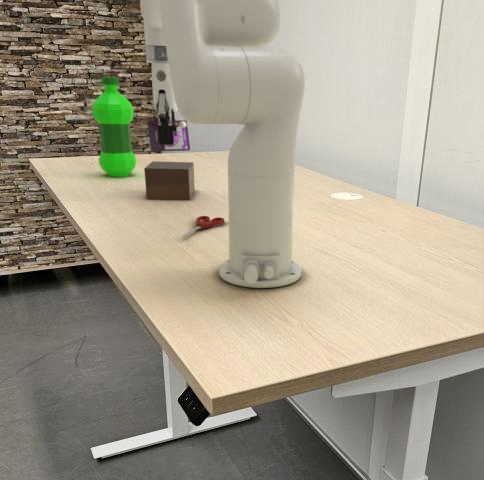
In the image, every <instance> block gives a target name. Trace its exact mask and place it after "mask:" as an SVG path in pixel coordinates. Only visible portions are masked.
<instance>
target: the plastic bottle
mask: <svg viewBox="0 0 484 480" xmlns="http://www.w3.org/2000/svg"><path fill="white" fill-rule="evenodd" d="M101 85H103V86H104V91H103V92H102V93H101V94H100V95H99V96H98V97H97V98H96V99H95V101H93V104H92V106H91V111H92V117H93V120H95V122H96V123H98V129H99V130H98V131H99V139H100V147H101V152H100V154H99V156H98V164H99V166H100V169H101V170H103V171H104V173H106V174H108V176H110V177H112V178H113V177H114V178H122V177H123V178H124V177H129V176H130V174H131V172H133V171H134V170H135V168H136V165H137V157H136V155H135V154H134V152H133V147H132V137H131V136H132V135H131V126H130V125H131V122H132V121H133V119H134V116H135V115H134V114H135V113H134V107H133V105H132V103H131V101H129V99H127V98H126V96H124V95H123V94H122V93H121V92H119V90H118V86H119V85H120V78H119V77H118V76H101Z"/></svg>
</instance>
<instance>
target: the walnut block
mask: <svg viewBox="0 0 484 480" xmlns="http://www.w3.org/2000/svg"><path fill="white" fill-rule="evenodd" d="M143 170H144V182H145V195H146V200H176V201H177V200H179V201H180V200H182V201H190V200H191V199H192V196H193V195H194V194H195V189H196V188H195V163H194V162H193V161H191V162H190V161H154V160H153V161H151V162H150V163H149V164H148V165H146V167H144V168H143Z"/></svg>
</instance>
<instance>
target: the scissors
mask: <svg viewBox="0 0 484 480" xmlns="http://www.w3.org/2000/svg"><path fill="white" fill-rule="evenodd" d="M195 222H196V223H195V227H194V228H192V229H191V230H189V231H187V232H186V233H185V234H184V235H183V237H186V236H188V235H190V234H192V233H193V232H195V231H197V230H204V229H207V228H211V227H215V226H219V225H222V224H224V223H225V218H224V217H213V218H212V219H211V217H210V216H209V215H200V216H197V217H196V221H195Z"/></svg>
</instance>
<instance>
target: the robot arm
mask: <svg viewBox="0 0 484 480" xmlns="http://www.w3.org/2000/svg"><path fill="white" fill-rule="evenodd" d="M279 3H280V2H279V0H139V8H140V15H141V18H143V32H144V43H145V44H144V45H145V46H144V47H145V57H146V58H145V60H146V63H147V64H151V86H152V87H151V88H152V100H153V101H152V102H153V108H154V110H155V111H156V112H157V116H158V119H157V121H158V124H159V126H158V129H159V143H160V144H166V145H173V144H174V135H173V130H176V132H177V131H178V130H177V128H178V127H174V125H173V126H172V121H175V120H177V119H176V118H177V117H176V113H177V112H179V114H180V116H181V117H182V118H183V120H186V121H187V122H189V123H191V124H195V125H242V126H243V125H244V126H243V127H242V129H241V130H240V132H239V133H238V135H237V136H236V138H235V139H234V141H233V144H232V145H231V147H230V149H229V153H228V157H227V187H228V188H227V193H228V194H227V195H228V196H227V200H228V203H227V204H228V246H229V247H228V255H229V258H228V259H227V260H225V261H223V262H222V263H221V264H220V265H219V267H218V272H219V277H220V278H221V279H222V280H223V281H225V282H227V283H229V284H232V285H235V286H239V287H244V288H253V289H254V288H255V289H268V288H269V289H270V288H279V287H284V286H288V285H290V284H293V283H295V282H297V281H298V280H299V279H300V278H301V277H302V267H301V265H300V264H299V263H298V262H296V261H294V260H293V230H294V197H295V171H296V169H295V168H296V149H297V148H296V147H297V146H296V145H297V137H298V136H297V134H298V127H299V122H300V115H301V111H302V105H303V102H304V101H303V100H304V96H305V95H304V94H305V88H306V86H305V85H306V80H305V72H304V69H303V66H302V64H301V63H300V61H299V59H297V57H296V56H295V55H293V54H292V53H290V52H288V51H287V50H284V49H280V48H275V47H268V46H267V45H269V44H271V43H272V42H274V40H275V39H276V38H277V36H278V34H279V30H280V25H281V13H280V12H281V11H280V5H279Z"/></svg>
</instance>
